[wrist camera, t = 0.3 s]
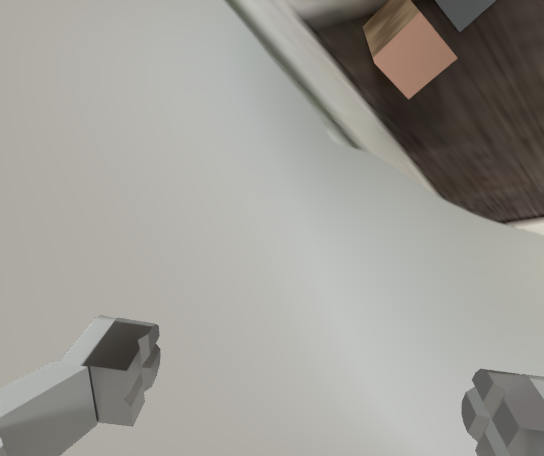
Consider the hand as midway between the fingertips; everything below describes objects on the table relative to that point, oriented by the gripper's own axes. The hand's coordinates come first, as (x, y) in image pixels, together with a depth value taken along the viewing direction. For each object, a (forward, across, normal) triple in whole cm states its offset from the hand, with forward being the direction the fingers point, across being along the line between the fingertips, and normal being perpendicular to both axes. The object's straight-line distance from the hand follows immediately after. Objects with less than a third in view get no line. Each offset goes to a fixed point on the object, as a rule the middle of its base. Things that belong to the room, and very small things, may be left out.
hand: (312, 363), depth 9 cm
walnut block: (+50, -10, -12) cm, 52 cm away
